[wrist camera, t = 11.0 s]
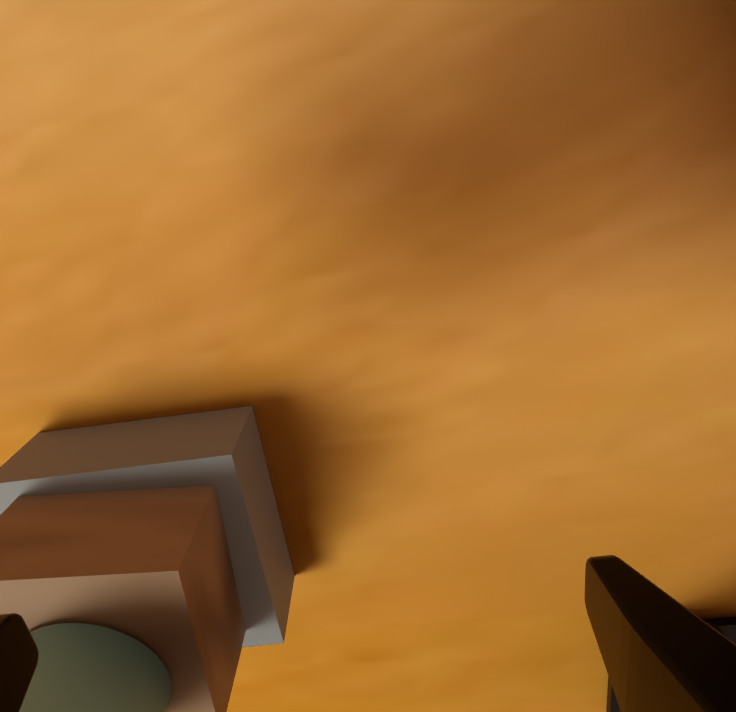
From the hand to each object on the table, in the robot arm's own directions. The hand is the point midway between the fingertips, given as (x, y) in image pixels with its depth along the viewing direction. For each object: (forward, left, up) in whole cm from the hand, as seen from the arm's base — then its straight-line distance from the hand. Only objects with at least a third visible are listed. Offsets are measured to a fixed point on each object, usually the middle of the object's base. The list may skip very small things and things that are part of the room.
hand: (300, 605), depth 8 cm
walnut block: (-7, +9, -9) cm, 15 cm away
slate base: (-7, +8, -13) cm, 17 cm away
